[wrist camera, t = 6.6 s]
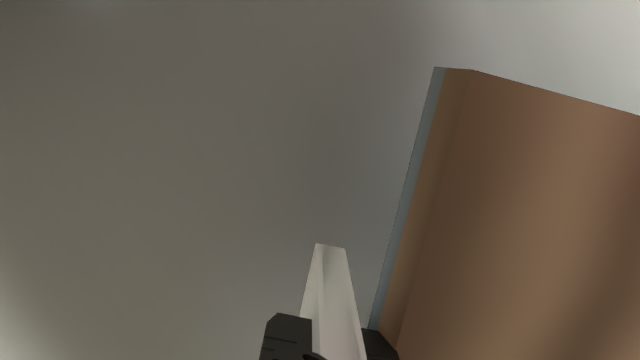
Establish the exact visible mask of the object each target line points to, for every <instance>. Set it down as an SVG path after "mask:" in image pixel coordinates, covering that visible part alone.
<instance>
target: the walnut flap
mask: <svg viewBox="0 0 640 360" xmlns="http://www.w3.org/2000/svg"><path fill="white" fill-rule="evenodd" d="M367 329H371V330H376V331H379V332H380V333H381V334H382V335H383V337H384V338H385V339H386V340H387V341H388V342H389V344H390V345H391V346H392V347H393V348H394V349H395V350H397V353H398V356H399V359H400V360H640V116H639V115H635V114H631V113H628V112H624V111H621V110H617V109H613V108H610V107H606V106H602V105H599V104H595V103H592V102H588V101H584V100H581V99H577V98H573V97H570V96H566V95H562V94H559V93H555V92H552V91H548V90H544V89H541V88H537V87H533V86H530V85H526V84H522V83H519V82H515V81H512V80H508V79H504V78H501V77H497V76H493V75H490V74H486V73H483V72H479V71H475V70H469V69H455V68H441V67H434V70H433V74H432V78H431V82H430V86H429V90H428V94H427V98H426V102H425V105H424V109H423V113H422V117H421V121H420V125H419V129H418V133H417V137H416V140H415V144H414V148H413V152H412V156H411V160H410V164H409V168H408V172H407V175H406V179H405V183H404V187H403V191H402V195H401V199H400V203H399V207H398V210H397V214H396V218H395V222H394V226H393V230H392V234H391V238H390V242H389V245H388V249H387V253H386V257H385V261H384V265H383V269H382V273H381V277H380V280H379V284H378V288H377V292H376V296H375V300H374V304H373V308H372V312H371V315H370V319H369V323H368V327H367Z"/></svg>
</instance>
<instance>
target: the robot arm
mask: <svg viewBox="0 0 640 360" xmlns="http://www.w3.org/2000/svg"><path fill="white" fill-rule="evenodd" d="M259 360H400V359H399V356H398V353H397V350H395V349H394V348H393V347H392V346H391V345H390V344H389V342H388V341H387V340H386V339H385V338H384V337H383V335H382V334H381V333H380V332H379V331H376V330H371V329H366V328H361V327H360V322H359V317H358V312H357V307H356V302H355V297H354V292H353V287H352V282H351V276H350V271H349V266H348V261H347V256H346V251H345V248H340V247H335V246H330V245H325V244H319V243H316V245H315V249H314V253H313V258H312V262H311V266H310V271H309V275H308V279H307V284H306V288H305V292H304V297H303V301H302V305H301V310H300V314H299V317H297V316H292V315H287V314H282V313H277V314H276V315H275V316H273V317H272V318H271V319H270V320H269V321H268V322H267V325H266V329H265V334H264V339H263V343H262V348H261V353H260V357H259Z"/></svg>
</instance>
